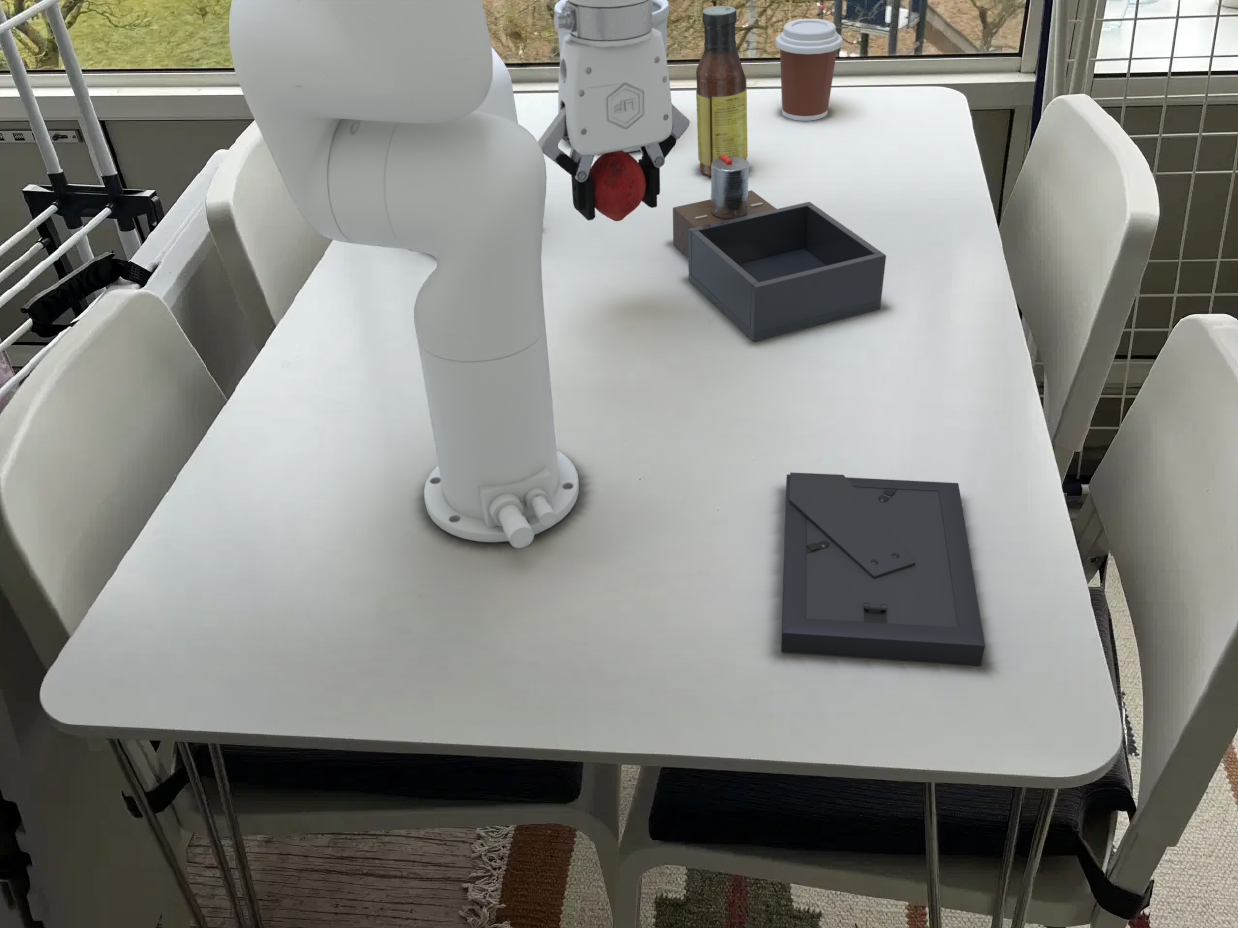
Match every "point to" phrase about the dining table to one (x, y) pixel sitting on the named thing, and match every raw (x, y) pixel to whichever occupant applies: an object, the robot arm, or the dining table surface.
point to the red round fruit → (617, 184)
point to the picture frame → (878, 571)
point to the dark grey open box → (785, 270)
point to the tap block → (706, 217)
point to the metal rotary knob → (729, 187)
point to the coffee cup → (807, 67)
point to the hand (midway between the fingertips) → (617, 207)
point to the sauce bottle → (720, 91)
